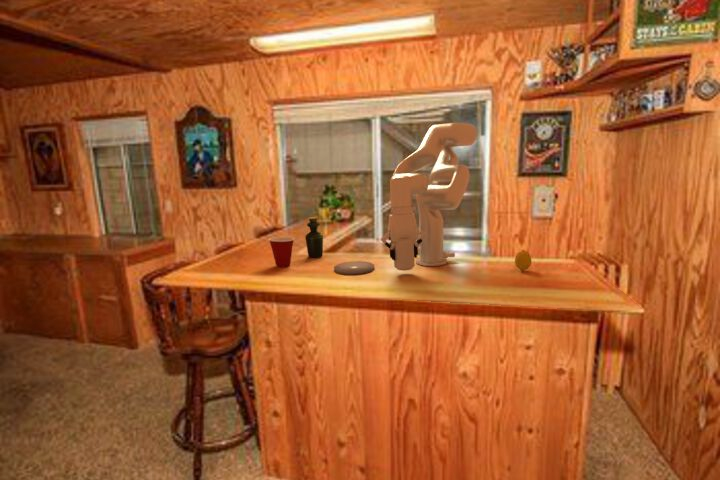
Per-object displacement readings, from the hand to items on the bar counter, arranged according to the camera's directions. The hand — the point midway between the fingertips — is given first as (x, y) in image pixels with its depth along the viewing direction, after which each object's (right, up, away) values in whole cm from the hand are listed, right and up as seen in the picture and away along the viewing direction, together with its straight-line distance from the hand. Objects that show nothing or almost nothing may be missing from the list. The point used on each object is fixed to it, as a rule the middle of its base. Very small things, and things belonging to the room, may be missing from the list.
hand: (404, 257), depth 144 cm
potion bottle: (-37, -1, +36) cm, 51 cm away
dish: (-18, -5, +12) cm, 22 cm away
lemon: (+43, -5, -1) cm, 44 cm away
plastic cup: (-48, -5, +22) cm, 53 cm away
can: (0, -4, +1) cm, 4 cm away
